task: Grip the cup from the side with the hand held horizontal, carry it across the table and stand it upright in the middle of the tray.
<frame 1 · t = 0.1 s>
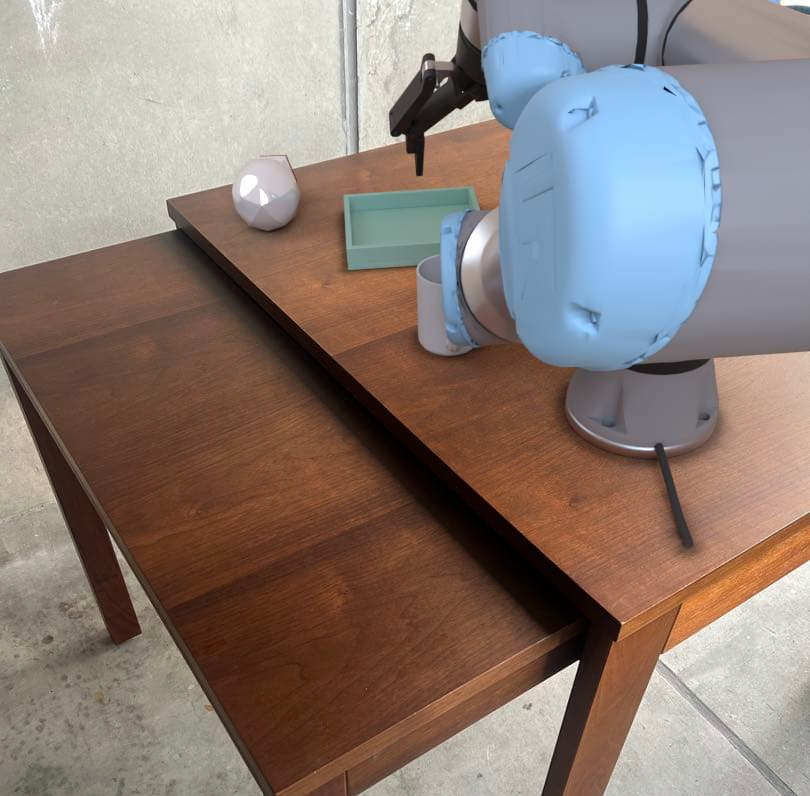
hand: (477, 162, 99), 15 cm above the table, tool tilted 35°, fingers open, 13 cm apart
cup: (450, 347, 100), on the table
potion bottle: (271, 219, 125), on the table
tray: (413, 236, 119), on the table
fruit: (585, 293, 108), on the table
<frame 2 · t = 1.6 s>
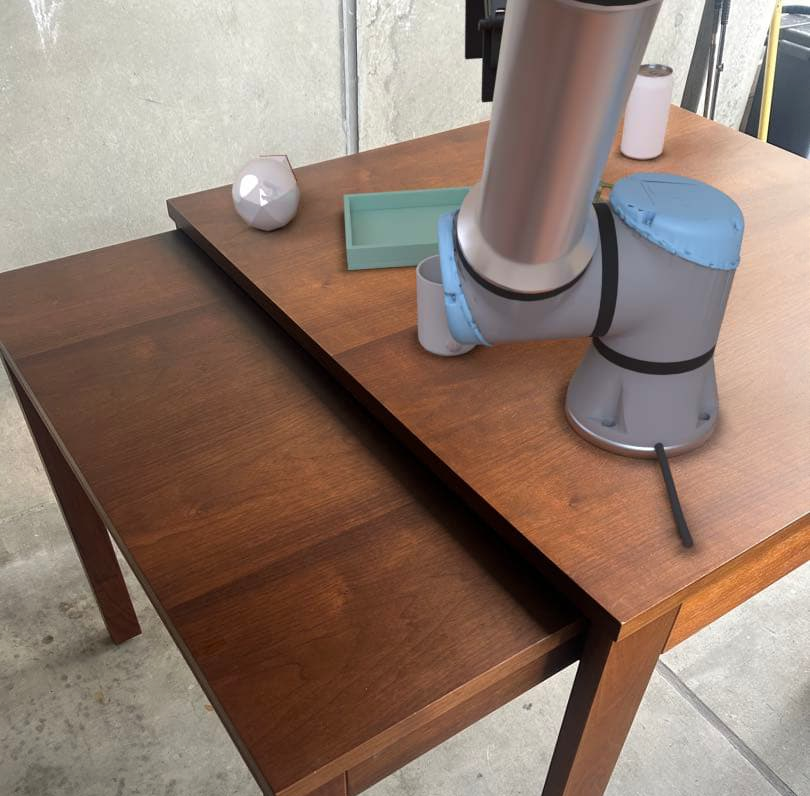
hand: (485, 78, 91), 25 cm above the table, tool pointing down, fingers open, 13 cm apart
nothing on the table moved.
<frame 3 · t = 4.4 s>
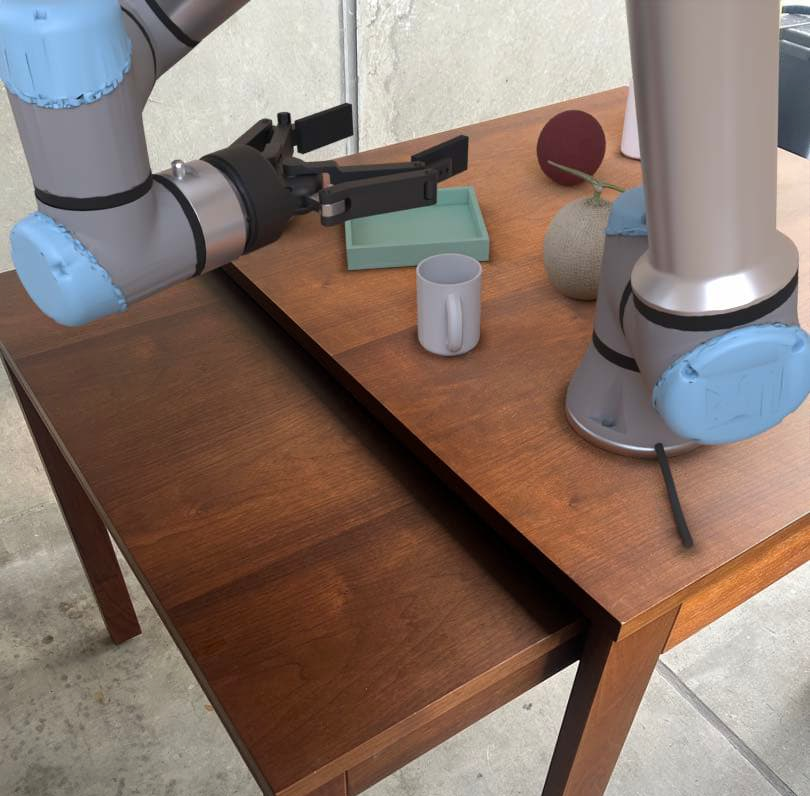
hand: (405, 134, 77), 26 cm above the table, tool horizontal, fingers open, 13 cm apart
nothing on the table moved.
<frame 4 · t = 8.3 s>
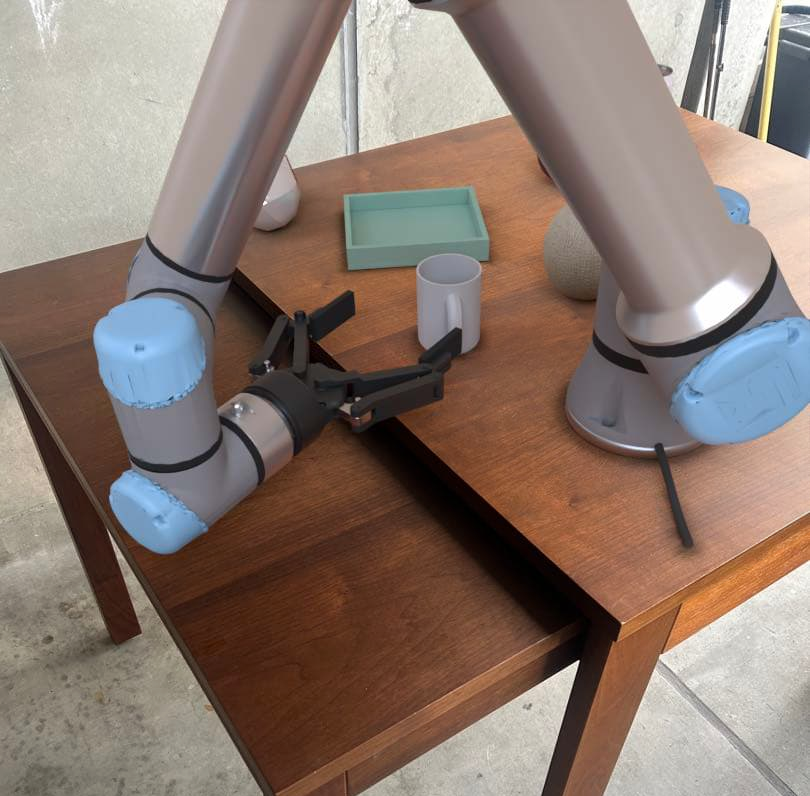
hand: (403, 320, 89), 8 cm above the table, tool horizontal, fingers open, 13 cm apart
nothing on the table moved.
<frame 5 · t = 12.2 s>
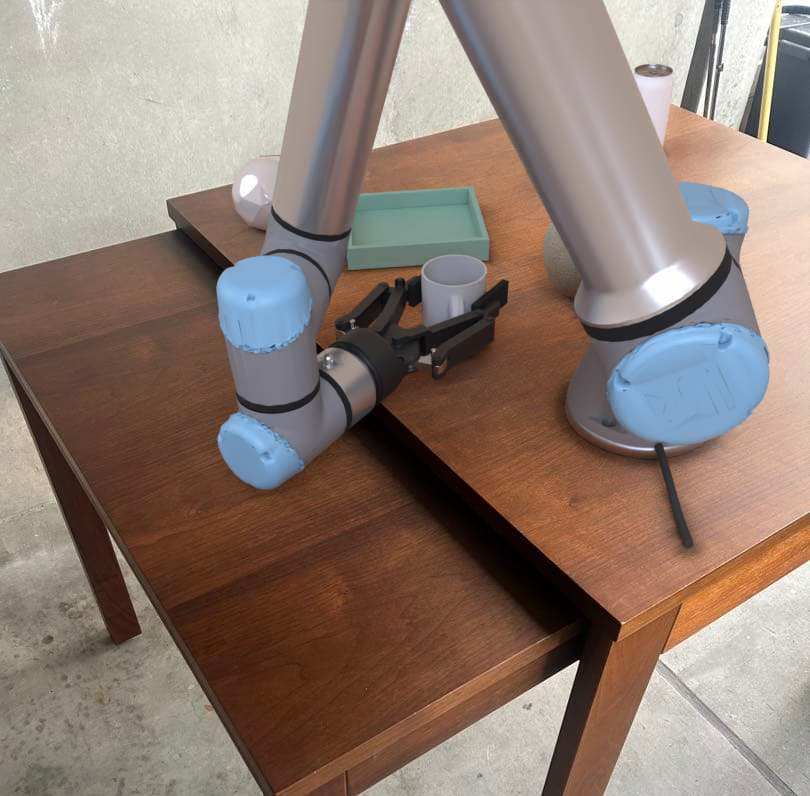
hand: (473, 281, 98), 6 cm above the table, tool horizontal, fingers closed on cup, 8 cm apart
cup: (454, 349, 100), on the table, touching gripper
everything else where it was.
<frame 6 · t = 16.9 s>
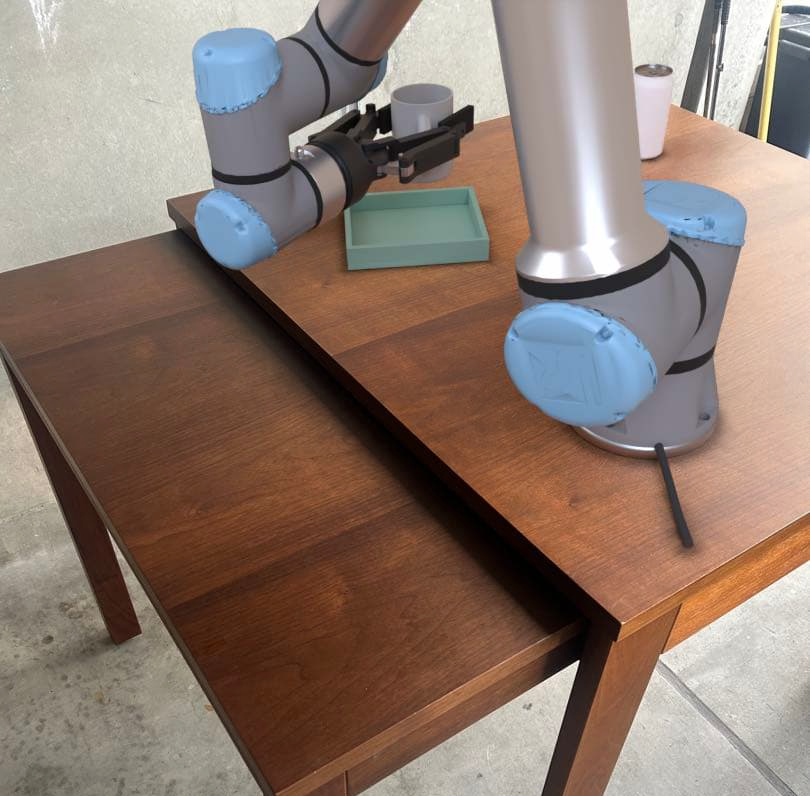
hand: (441, 111, 103), 18 cm above the table, tool horizontal, fingers closed on cup, 8 cm apart
cup: (424, 178, 104), point 12 cm above the table, touching gripper
everything else where it was.
when the fingers open (7 cm above the table, at t = 21.6 s): cup stays where it is, resting on tray.
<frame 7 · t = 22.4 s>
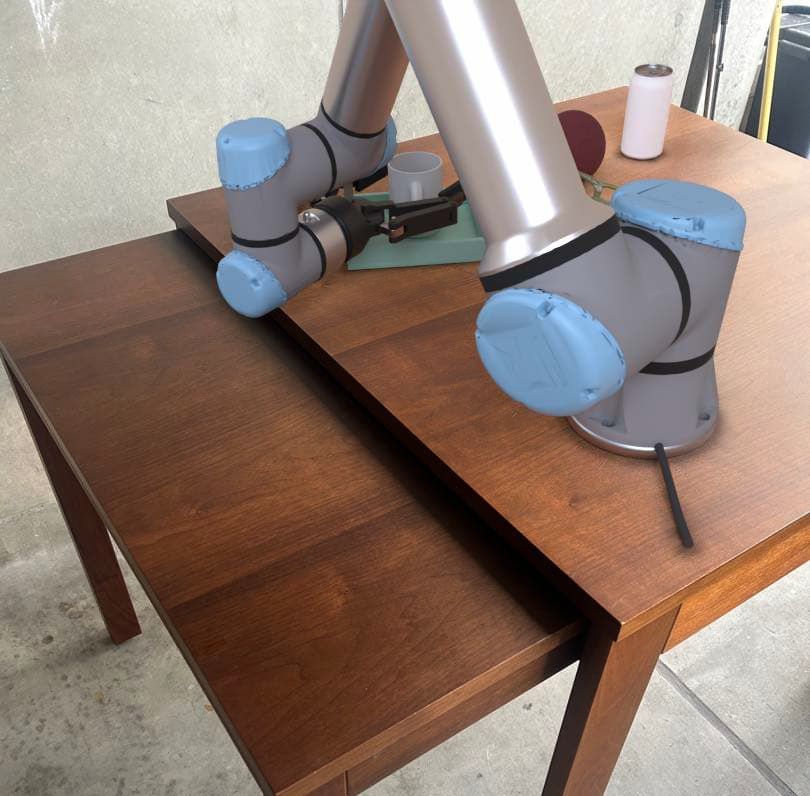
hand: (426, 174, 116), 7 cm above the table, tool horizontal, fingers open, 13 cm apart
cup: (417, 233, 119), point 1 cm above the table, touching tray
everything else where it was.
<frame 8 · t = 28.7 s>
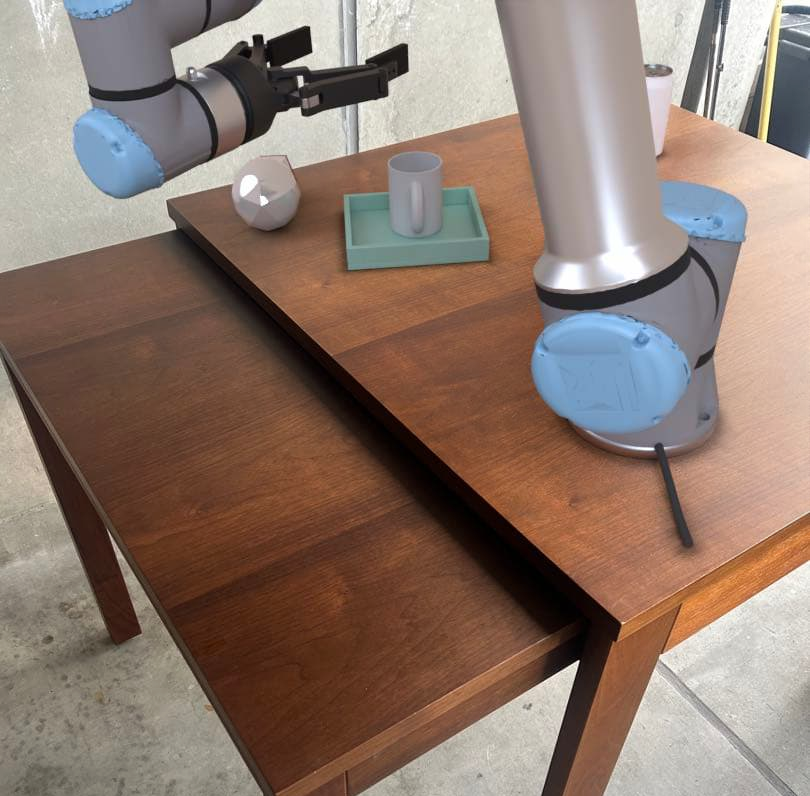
hand: (356, 47, 96), 26 cm above the table, tool horizontal, fingers open, 13 cm apart
nothing on the table moved.
at the end: cup inside the target area in the tray (0.6 cm from its centre), point 0.6 cm above the tray's base; cup tilted 0°; the gripper is holding nothing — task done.
